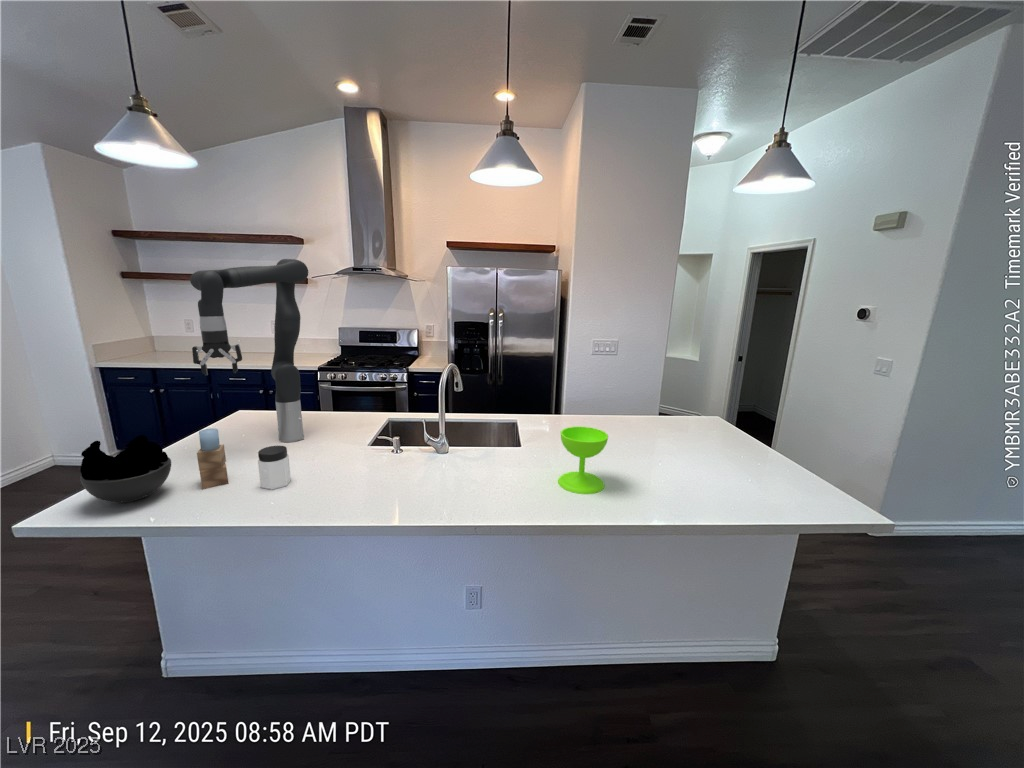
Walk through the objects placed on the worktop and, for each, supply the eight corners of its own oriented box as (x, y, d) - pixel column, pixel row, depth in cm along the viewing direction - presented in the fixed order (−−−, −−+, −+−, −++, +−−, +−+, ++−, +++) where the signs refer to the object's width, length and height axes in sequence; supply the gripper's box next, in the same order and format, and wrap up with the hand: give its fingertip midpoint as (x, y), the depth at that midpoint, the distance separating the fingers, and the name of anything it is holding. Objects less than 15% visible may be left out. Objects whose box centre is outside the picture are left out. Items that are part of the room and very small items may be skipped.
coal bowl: (192, 487, 133) (183, 432, 129) (123, 520, 113) (110, 456, 109) (142, 480, 137) (132, 426, 132) (67, 510, 117) (53, 448, 113)
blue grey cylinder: (220, 444, 137) (218, 427, 136) (218, 450, 133) (217, 432, 132) (202, 446, 135) (200, 429, 134) (199, 452, 131) (197, 434, 129)
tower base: (226, 476, 141) (224, 460, 140) (228, 483, 136) (226, 467, 135) (201, 481, 137) (198, 464, 136) (202, 489, 132) (199, 472, 130)
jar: (254, 486, 134) (250, 452, 132) (275, 476, 142) (272, 443, 139) (276, 491, 132) (272, 456, 129) (296, 480, 139) (293, 447, 137)
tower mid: (226, 461, 139) (223, 444, 138) (221, 468, 134) (219, 450, 133) (204, 463, 137) (202, 446, 136) (199, 470, 132) (196, 453, 130)
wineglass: (567, 469, 154) (569, 423, 150) (609, 479, 146) (613, 431, 143) (550, 486, 140) (553, 436, 136) (596, 498, 133) (600, 445, 129)
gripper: (239, 327, 152) (244, 370, 155) (191, 328, 145) (198, 373, 149) (236, 329, 145) (242, 374, 149) (186, 330, 139) (194, 377, 142)
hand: (220, 374), depth 149 cm, fingers open, 8 cm apart
